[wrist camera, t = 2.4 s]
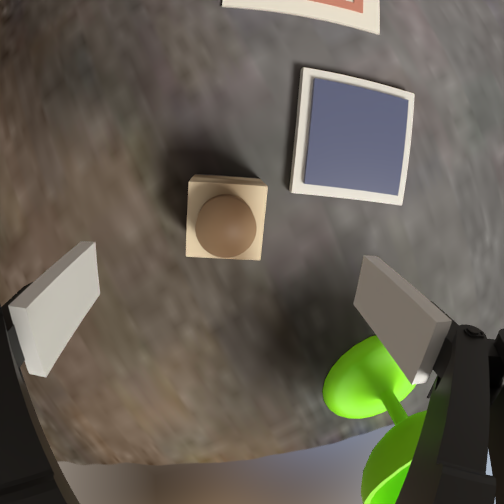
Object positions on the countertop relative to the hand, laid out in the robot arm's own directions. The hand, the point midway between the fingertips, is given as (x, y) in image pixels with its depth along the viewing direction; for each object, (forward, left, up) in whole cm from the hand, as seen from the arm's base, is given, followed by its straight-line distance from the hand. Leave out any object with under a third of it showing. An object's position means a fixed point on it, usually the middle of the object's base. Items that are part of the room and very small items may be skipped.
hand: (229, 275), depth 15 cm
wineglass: (+22, -22, -17) cm, 35 cm away
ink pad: (+12, +8, -17) cm, 22 cm away
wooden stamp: (0, 0, -17) cm, 17 cm away
